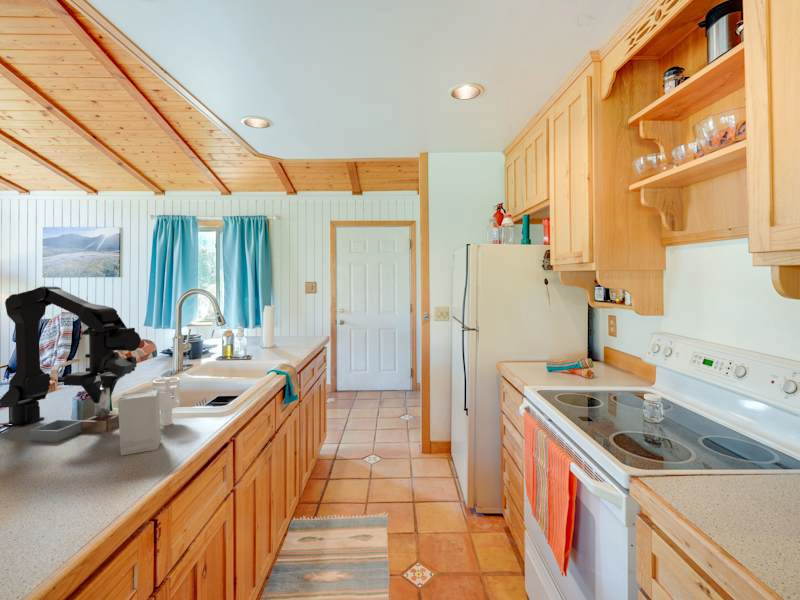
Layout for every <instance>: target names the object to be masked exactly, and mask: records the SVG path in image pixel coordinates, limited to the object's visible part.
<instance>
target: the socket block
mask: <svg viewBox="0 0 800 600" xmlns="http://www.w3.org/2000/svg"><path fill="white" fill-rule="evenodd" d="M116 427H119V415H118V413H110V414H109V415H106V416H100V417H96V416H95V415H94V416H91V417H89V418H86V419H84V420H83V421H82V431H81V432H86V433H105V432H107V431H109V430H112V429H113V428H116Z"/></svg>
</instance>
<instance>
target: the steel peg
mask: <svg viewBox="0 0 800 600" xmlns="http://www.w3.org/2000/svg"><path fill="white" fill-rule="evenodd" d="M109 414H111V398H110V387H102V386H100V400H99V403H94V416H96V417H100V416H106V415H109Z"/></svg>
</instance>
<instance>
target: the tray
mask: <svg viewBox="0 0 800 600" xmlns="http://www.w3.org/2000/svg"><path fill="white" fill-rule="evenodd" d="M82 421H84V420H80V419H79V420H78V419H77V420H75V419H56V420H53V421H51V422H48V423H45V424H43V425H40V426H37V427H34V428H32V429H29V441H30V442H45V441H48V442H49V443H50V442H51V443H58V442H60V441H63V440H65V439H68V438H70V437H72V436H75V435H77V434H79V433H81V432H82ZM67 437H68V438H67Z"/></svg>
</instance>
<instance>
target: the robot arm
mask: <svg viewBox="0 0 800 600" xmlns="http://www.w3.org/2000/svg"><path fill="white" fill-rule="evenodd" d="M51 305H54V306H56V307H59V308H60V309H63V310H65V311H66V312H69V313H71V314H73V315H75V316H76V317H78V321H80V322H81V323H82V324H84V325H85V326H86V327H87V328H86V329H85V330H83V332H82V333H81V334H82V335H88V344H89V345H88V347H89V348H88V353H85V356H84V357H85V359H87V358H89V359H88V361H89V365H88V367H85V371H77V372H74V373H69V374H66V375H65V376H64V377H63V386H72V387H73V386H76V387H81V388H83V390H85V392H86V393H87V395H88V396H89V398H90V399H91V400H92V401H93V403H94V404H95V403H99V400H100V387H110V399H111V397H112V395H113V392H114V390H115V387H116V384H117V382H118V381H119V380H120V379H121V378H123V377H125V376H126V375H130V374H132V372H134V371H135V370H136V368H137V363H138V362H137V357H136V356H134V355H131V356H127V357H119V355H120V354H119V351H120V352H121V351H127V352H133V351H136V350H137V349H138V348H139V347H140V346H141V340H142V338H141V335H139V333H138V332H136V328H135V327H127V326H126V324H125V323H124V321H123V319H122V318H121V317H120V315H119V314H118V310H117V309H115V308H114V307H112V306H111V307H110V306H107V305H101V304H95V303H92V302H89V301H86V300H84V299H82V298H80V297H78V296H76V295H75V294H71V293H70V292H67V291H65V290H63V289H62V288H61V287H58V286H56V285H54V286H53V285H52V286H51V285H50V286H48V285H47V286H46V285H43V286H39V287H36V288H35V289H34V288H33V289H31V290H27V291H23V292H20V293H12V294H11V295H9V296H8V297H7V298H5V302H4V306H5V310H6V314H7V316H8V318H10V320H11V321H12V322H13V323H14V327H15V329H14V330H15V331H14V332H15V353H16V354H15V355H16V356H15V357H16V371H15V373H14V375H13V376H12V377H11V379H10V380H9V384H8V385H9V386H8V390H7V391H6V392H5V393H4V395H2V397H1V398H0V406H1V408H2V407H3V408H8V421H7V422H5V423H6V424H12V426H11V427H25V426H28V425H31V424H33V423H36V422H39V421H42V420H44V419H45V417H44V416H41V408H40V402H39V401H41V400H45V399H46V398H47V397H46V396H47V394H48V392H49V390H50V387H51V386H52V385H51V381H50V379H51V375H50V373H49V372H48V373H45V371H44V370H42V369H41V355H40V353H41V351H40V330H39V329H40V327H39V326H40V324H39V323H40V321H41V320H42V319H43V317H44V316H45V314H46V310H47V309H46V308H47V307H48V306H51Z"/></svg>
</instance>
